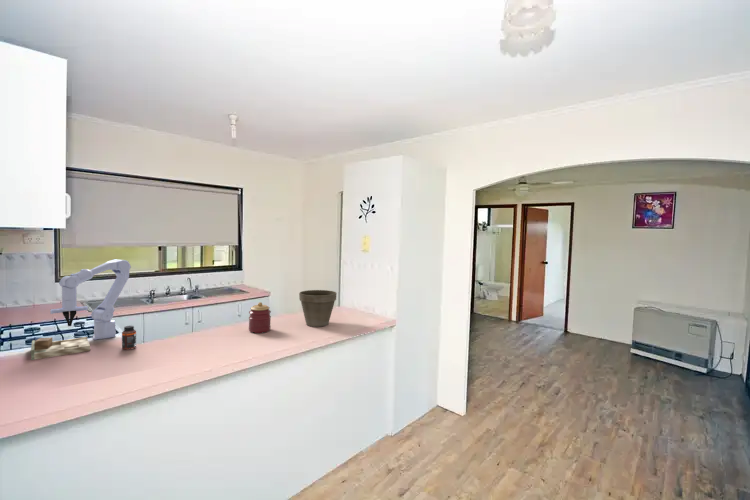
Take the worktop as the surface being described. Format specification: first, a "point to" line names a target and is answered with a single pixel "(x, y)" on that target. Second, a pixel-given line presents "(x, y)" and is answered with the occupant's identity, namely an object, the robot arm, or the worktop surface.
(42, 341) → the walnut block
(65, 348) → the box
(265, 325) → the canister
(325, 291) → the plant pot
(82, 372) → the worktop surface
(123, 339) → the supplement bottle
